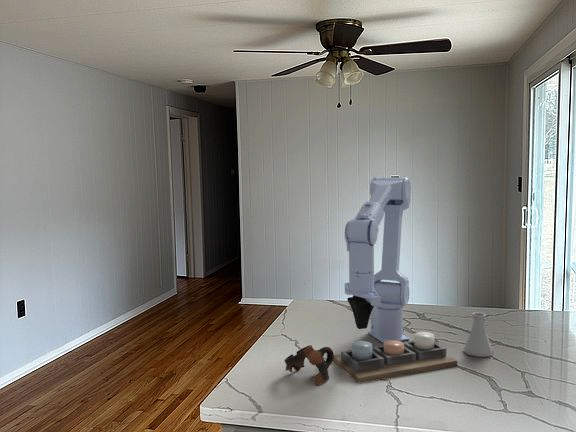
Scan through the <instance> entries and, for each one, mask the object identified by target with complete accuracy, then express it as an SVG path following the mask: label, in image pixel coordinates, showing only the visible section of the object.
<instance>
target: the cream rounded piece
mask: <svg viewBox="0 0 576 432" xmlns="http://www.w3.org/2000/svg"><path fill="white" fill-rule="evenodd" d="M413 341H414V347H415V348H417V349H418V350H420V351H423V350H429V349H434V342H435V334H433V333H432V332H429V331H418V332H415V333H413Z"/></svg>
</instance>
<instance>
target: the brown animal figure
mask: <svg viewBox="0 0 576 432" xmlns="http://www.w3.org/2000/svg"><path fill="white" fill-rule="evenodd" d="M325 354H326V355H327V356H326V360H325V357H324V356H325ZM334 355H335V353H334V351H333V348H331V347H329V346H324V347H321V348H319V349H314V347H313V345H310V344H309V345H307V346H304V347H302V348H300V349H299V350H296V354H295V355H294V354H293V353H292V354H290V355H289V356H287V357H286V358H284V363H285V371H289V372H290V374H291V373H293V370H295V371H296V372H299V371H300V370H301V369H302V368H303V369H304V368H305V367H306V365H305V360H306V359H307V360H308V362H309V364H311V365H312V366H315V367H316V369H317V370H318V373H317V374H315V375H314V376H313V377H312V379H313V381H314V383H315V386H317V387H318V386H321V385H322V384H323V383H324V382H327V381H328V380H329V379H330V375H329V367H330V366H331V365H332V363H334V361H333V359H334Z"/></svg>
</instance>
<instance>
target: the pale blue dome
mask: <svg viewBox="0 0 576 432" xmlns="http://www.w3.org/2000/svg"><path fill="white" fill-rule="evenodd" d="M372 347H373V344H372V342H370V341H366V340H357V341H353V342H352V343H351V350H352V358H353V359H354V360H356V361H362V360H368V359H372Z"/></svg>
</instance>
